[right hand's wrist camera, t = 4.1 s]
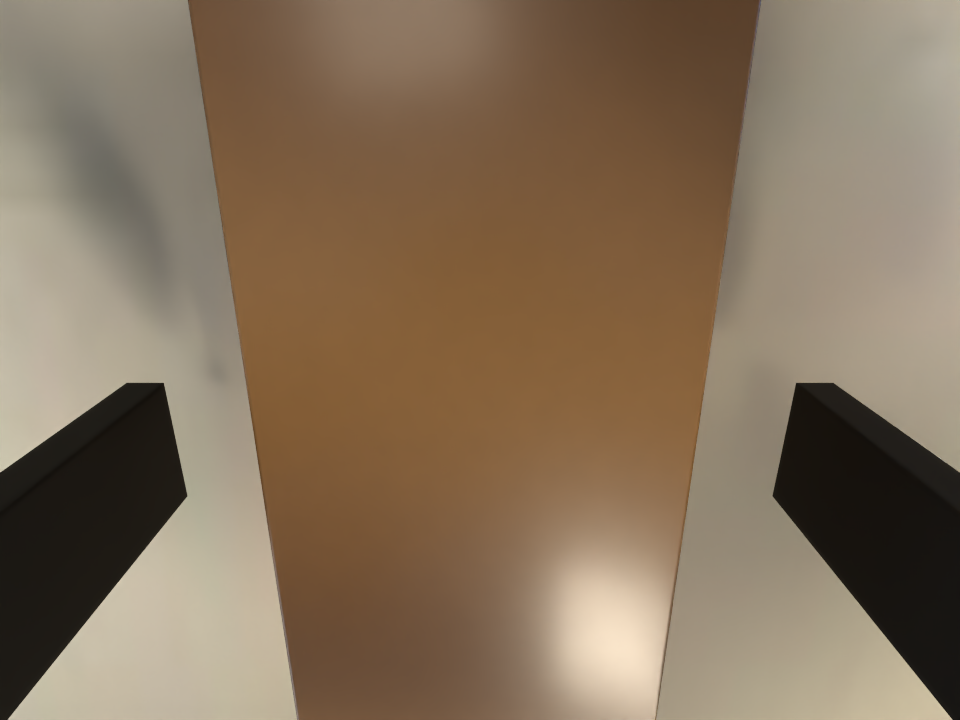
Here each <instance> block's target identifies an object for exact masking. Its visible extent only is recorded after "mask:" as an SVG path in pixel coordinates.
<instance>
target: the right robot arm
mask: <svg viewBox="0 0 960 720" xmlns="http://www.w3.org/2000/svg"><path fill="white" fill-rule="evenodd" d="M186 497H187V492H186V487H185V482H184V478H183V473H182V468H181V463H180V458H179V454H178V449H177V444H176V439H175V435H174V430H173V425H172V420H171V416H170V411H169V406H168V401H167V396H166V392H165V387H164V383H126V384H125V385H123V386H122V387H120V388H119V389H118V390H116V391H115V392H113V393H112V394H111V395H109V396H108V397H106V398H105V399H104V400H102V401H101V402H99V403H98V404H96V405H95V406H94V407H92V408H91V409H89V410H88V411H87V412H85V413H84V414H82V415H81V416H80V417H78V418H77V419H75V420H74V421H73V422H71V423H70V424H68V425H67V426H65V427H64V428H63V429H61V430H60V431H58V432H57V433H56V434H54V435H53V436H51V437H50V438H49V439H47V440H46V441H44V442H43V443H41V444H40V445H39V446H37V447H36V448H34V449H33V450H32V451H30V452H29V453H27V454H26V455H25V456H23V457H22V458H20V459H19V460H18V461H16V462H15V463H13V464H12V465H10V466H9V467H8V468H6V469H5V470H3V471H2V472H1V473H0V720H7V719H8V718H9V717H10V716H11V715H12V713H13V712H14V711H15V710H16V708H17V707H18V706H19V705H20V703H21V702H22V701H23V700H24V698H25V697H26V696H27V695H28V693H29V692H30V691H31V690H32V688H33V687H34V686H35V685H36V683H37V682H38V681H39V680H40V678H41V677H42V676H43V675H44V674H45V672H46V671H47V670H48V669H49V667H50V666H51V665H52V664H53V662H54V661H55V660H56V659H57V657H58V656H59V655H60V654H61V652H62V651H63V650H64V649H65V647H66V646H67V645H68V644H69V642H70V641H71V640H72V639H73V637H74V636H75V635H76V634H77V633H78V631H79V630H80V629H81V628H82V626H83V625H84V624H85V623H86V621H87V620H88V619H89V618H90V616H91V615H92V614H93V613H94V611H95V610H96V609H97V608H98V606H99V605H100V604H101V603H102V601H103V600H104V599H105V598H106V596H107V595H108V594H109V593H110V592H111V590H112V589H113V588H114V587H115V585H116V584H117V583H118V582H119V580H120V579H121V578H122V577H123V575H124V574H125V573H126V572H127V570H128V569H129V568H130V567H131V565H132V564H133V563H134V562H135V560H136V559H137V558H138V557H139V555H140V554H141V553H142V552H143V551H144V549H145V548H146V547H147V546H148V544H149V543H150V542H151V541H152V539H153V538H154V537H155V536H156V534H157V533H158V532H159V531H160V529H161V528H162V527H163V526H164V524H165V523H166V522H167V521H168V519H169V518H170V517H171V516H172V514H173V513H174V512H175V511H176V510H177V508H178V507H179V506H180V505H181V503H182V502H183V501H184V500H185V498H186ZM773 497H774V498H775V500H776V501H777V502H778V503H779V505H780V506H781V507H782V508H783V510H784V511H785V512H786V513H787V514H788V516H789V517H790V518H791V519H792V521H793V522H794V523H795V524H796V526H797V527H798V528H799V529H800V531H801V532H802V533H803V534H804V536H805V537H806V538H807V539H808V541H809V542H810V543H811V544H812V546H813V547H814V548H815V549H816V551H817V552H818V553H819V554H820V555H821V557H822V558H823V559H824V560H825V562H826V563H827V564H828V565H829V567H830V568H831V569H832V570H833V572H834V573H835V574H836V575H837V577H838V578H839V579H840V580H841V582H842V583H843V584H844V585H845V587H846V588H847V589H848V590H849V592H850V593H851V594H852V595H853V596H854V598H855V599H856V600H857V601H858V603H859V604H860V605H861V606H862V608H863V609H864V610H865V611H866V613H867V614H868V615H869V616H870V618H871V619H872V620H873V621H874V623H875V624H876V625H877V626H878V628H879V629H880V630H881V631H882V633H883V634H884V635H885V636H886V637H887V639H888V640H889V641H890V642H891V644H892V645H893V646H894V647H895V649H896V650H897V651H898V652H899V654H900V655H901V656H902V657H903V659H904V660H905V661H906V662H907V664H908V665H909V666H910V667H911V669H912V670H913V671H914V672H915V674H916V675H917V676H918V677H919V678H920V680H921V681H922V682H923V683H924V685H925V686H926V687H927V688H928V690H929V691H930V692H931V693H932V695H933V696H934V697H935V698H936V700H937V701H938V702H939V703H940V705H941V706H942V707H943V708H944V710H945V711H946V712H947V713H948V715H949V716H950V717H951V718H952V719H953V720H960V473H959V472H958V471H957V470H955V469H954V468H952V467H951V466H950V465H948V464H947V463H945V462H944V461H942V460H941V459H940V458H938V457H937V456H935V455H934V454H933V453H931V452H930V451H928V450H927V449H926V448H924V447H923V446H921V445H920V444H919V443H917V442H916V441H914V440H913V439H911V438H910V437H909V436H907V435H906V434H904V433H903V432H902V431H900V430H899V429H897V428H896V427H895V426H893V425H892V424H890V423H889V422H887V421H886V420H885V419H883V418H882V417H880V416H879V415H878V414H876V413H875V412H873V411H872V410H871V409H869V408H868V407H866V406H865V405H864V404H862V403H861V402H859V401H858V400H856V399H855V398H854V397H852V396H851V395H849V394H848V393H847V392H845V391H844V390H842V389H841V388H840V387H838V386H837V385H835V384H834V383H796V387H795V392H794V396H793V401H792V406H791V411H790V416H789V420H788V425H787V430H786V435H785V439H784V444H783V449H782V454H781V458H780V463H779V468H778V473H777V478H776V482H775V487H774V492H773Z"/></svg>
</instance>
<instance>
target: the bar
mask: <svg viewBox="0 0 960 720" xmlns="http://www.w3.org/2000/svg"><path fill="white" fill-rule="evenodd" d="M188 3H189V10H190V17H191V23H192V30H193V36H194V43H195V49H196V56H197V63H198V69H199V76H200V82H201V89H202V96H203V102H204V109H205V115H206V122H207V128H208V135H209V142H210V148H211V155H212V161H213V168H214V174H215V181H216V188H217V194H218V201H219V207H220V214H221V221H222V227H223V234H224V240H225V247H226V253H227V260H228V267H229V273H230V280H231V286H232V293H233V299H234V306H235V313H236V319H237V326H238V332H239V339H240V346H241V352H242V359H243V365H244V372H245V378H246V385H247V392H248V398H249V405H250V411H251V418H252V424H253V431H254V438H255V444H256V451H257V457H258V464H259V471H260V477H261V484H262V490H263V497H264V503H265V510H266V517H267V523H268V530H269V536H270V543H271V550H272V556H273V563H274V569H275V576H276V582H277V589H278V596H279V602H280V609H281V615H282V622H283V628H284V635H285V642H286V648H287V655H288V661H289V668H290V675H291V681H292V688H293V694H294V701H295V707H296V714H297V720H656V715H657V709H658V702H659V695H660V688H661V681H662V674H663V668H664V661H665V654H666V647H667V640H668V633H669V627H670V620H671V613H672V606H673V599H674V592H675V585H676V579H677V572H678V565H679V558H680V551H681V544H682V538H683V531H684V524H685V517H686V510H687V503H688V497H689V490H690V483H691V476H692V469H693V462H694V456H695V449H696V442H697V435H698V428H699V421H700V415H701V408H702V401H703V394H704V387H705V380H706V373H707V367H708V360H709V353H710V346H711V339H712V332H713V326H714V319H715V312H716V305H717V298H718V291H719V285H720V278H721V271H722V264H723V257H724V250H725V244H726V237H727V230H728V223H729V216H730V209H731V203H732V196H733V189H734V182H735V175H736V168H737V162H738V155H739V148H740V141H741V134H742V127H743V120H744V114H745V107H746V100H747V93H748V86H749V79H750V73H751V66H752V59H753V52H754V45H755V38H756V32H757V25H758V18H759V11H760V4H761V0H188Z"/></svg>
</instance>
